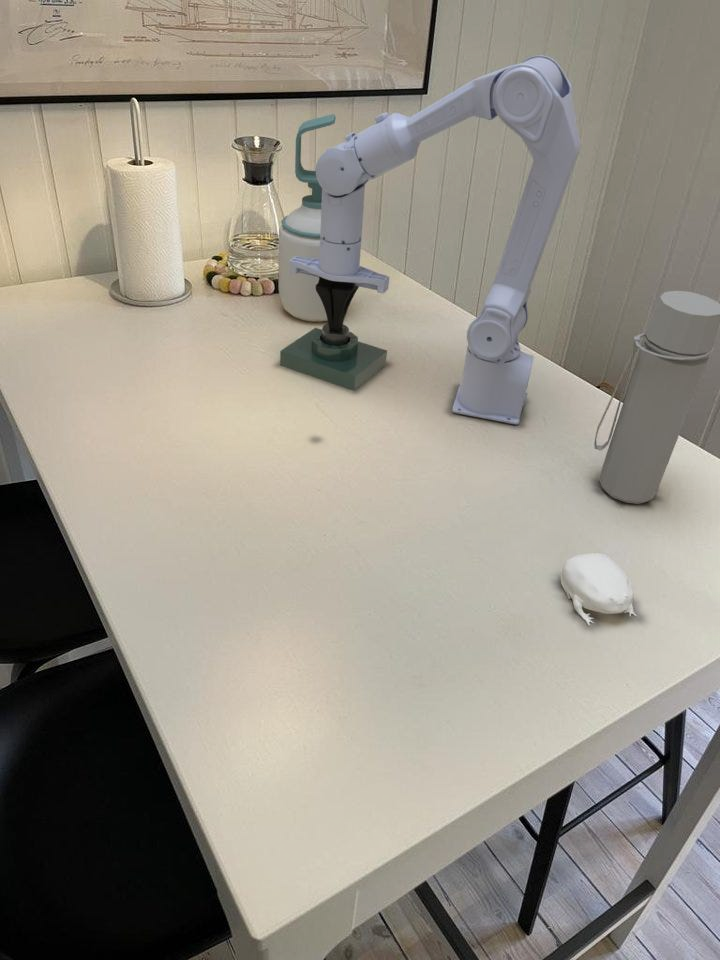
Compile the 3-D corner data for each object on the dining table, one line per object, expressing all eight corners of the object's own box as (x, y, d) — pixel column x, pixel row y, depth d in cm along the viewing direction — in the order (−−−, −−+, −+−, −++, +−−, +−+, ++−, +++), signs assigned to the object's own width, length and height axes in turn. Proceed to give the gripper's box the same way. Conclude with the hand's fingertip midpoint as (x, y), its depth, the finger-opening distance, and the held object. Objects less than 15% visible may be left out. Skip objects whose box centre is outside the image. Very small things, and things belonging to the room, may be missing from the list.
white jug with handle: (348, 329, 126) (362, 128, 107) (274, 324, 125) (275, 121, 107) (350, 299, 136) (363, 110, 117) (281, 294, 135) (283, 104, 117)
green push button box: (385, 364, 117) (388, 338, 114) (354, 391, 110) (356, 363, 107) (314, 341, 121) (315, 315, 119) (279, 365, 114) (280, 338, 112)
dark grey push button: (352, 339, 114) (353, 327, 113) (339, 349, 111) (340, 337, 110) (330, 332, 115) (331, 320, 114) (316, 342, 112) (317, 329, 111)
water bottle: (656, 479, 97) (726, 296, 82) (655, 514, 91) (730, 324, 76) (584, 462, 99) (640, 280, 84) (578, 495, 93) (637, 306, 78)
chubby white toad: (643, 618, 77) (655, 592, 75) (585, 630, 75) (595, 603, 73) (602, 566, 83) (612, 540, 81) (548, 575, 81) (556, 549, 79)
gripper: (399, 238, 105) (390, 328, 113) (305, 219, 108) (302, 307, 117) (382, 254, 99) (374, 347, 108) (283, 233, 103) (282, 324, 111)
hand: (335, 327), depth 112 cm, fingers closed
